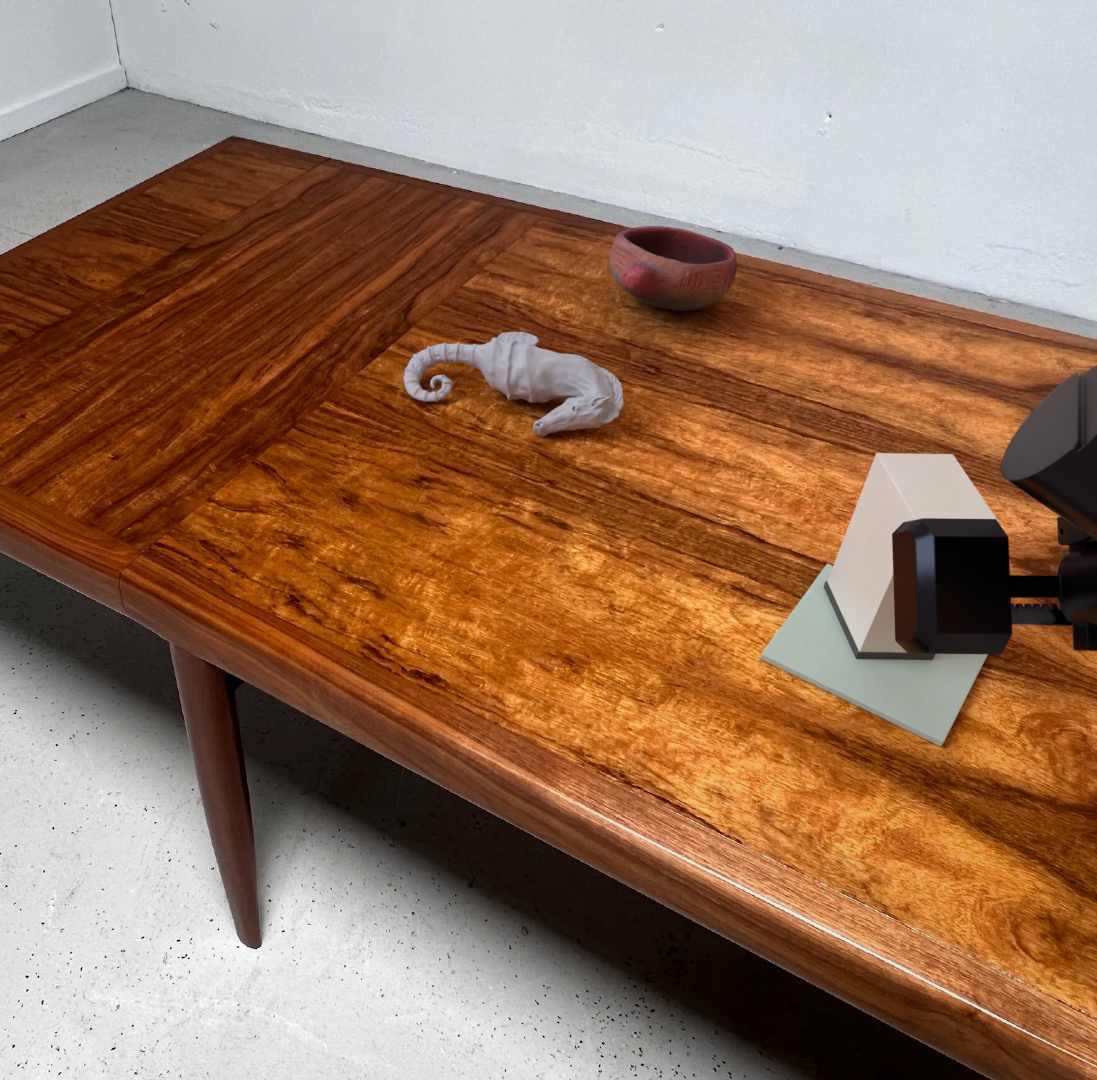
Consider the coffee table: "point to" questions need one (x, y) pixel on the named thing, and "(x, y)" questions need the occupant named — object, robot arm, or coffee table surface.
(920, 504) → the white tilted block
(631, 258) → the bowl
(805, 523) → the coffee table surface
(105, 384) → the coffee table surface
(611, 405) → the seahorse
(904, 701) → the mat
